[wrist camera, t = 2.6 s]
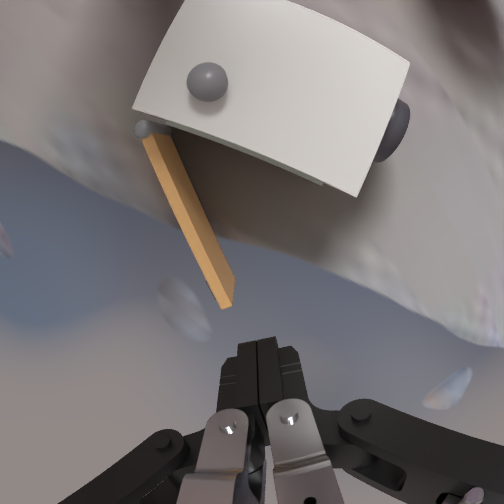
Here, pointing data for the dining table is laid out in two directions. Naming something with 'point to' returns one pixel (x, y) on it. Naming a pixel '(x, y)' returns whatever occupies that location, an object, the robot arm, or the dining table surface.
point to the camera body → (280, 87)
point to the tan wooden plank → (187, 209)
